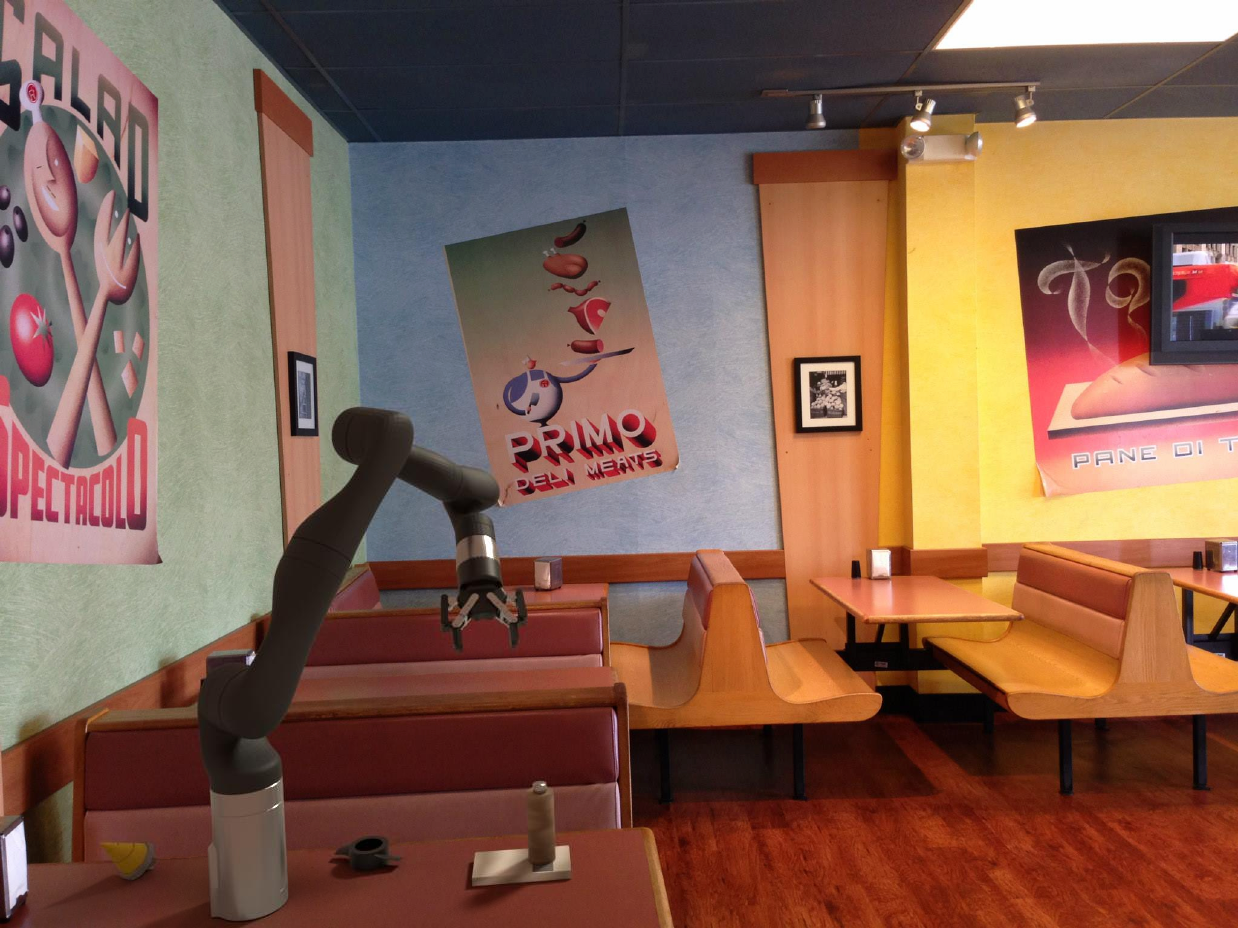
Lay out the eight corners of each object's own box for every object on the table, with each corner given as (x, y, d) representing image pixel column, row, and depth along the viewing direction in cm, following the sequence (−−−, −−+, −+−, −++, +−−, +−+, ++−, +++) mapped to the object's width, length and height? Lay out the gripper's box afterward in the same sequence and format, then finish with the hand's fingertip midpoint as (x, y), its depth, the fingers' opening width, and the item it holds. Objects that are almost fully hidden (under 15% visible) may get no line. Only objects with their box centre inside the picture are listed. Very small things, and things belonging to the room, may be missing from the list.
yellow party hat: (163, 879, 135) (109, 854, 129) (135, 892, 136) (80, 867, 130) (172, 845, 139) (119, 818, 133) (145, 857, 140) (91, 831, 134)
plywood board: (472, 885, 129) (472, 876, 129) (475, 859, 137) (475, 851, 137) (571, 878, 131) (571, 869, 131) (569, 853, 138) (568, 844, 138)
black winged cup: (357, 884, 131) (356, 865, 131) (332, 859, 139) (331, 840, 139) (407, 867, 136) (407, 848, 136) (380, 843, 144) (379, 825, 144)
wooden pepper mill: (529, 866, 132) (526, 790, 131) (527, 853, 136) (525, 779, 135) (556, 863, 133) (554, 787, 132) (554, 850, 137) (552, 777, 136)
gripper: (436, 557, 155) (442, 640, 144) (520, 552, 158) (532, 632, 147) (436, 583, 160) (442, 664, 150) (518, 577, 163) (529, 656, 153)
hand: (487, 648), depth 148 cm, fingers open, 8 cm apart
